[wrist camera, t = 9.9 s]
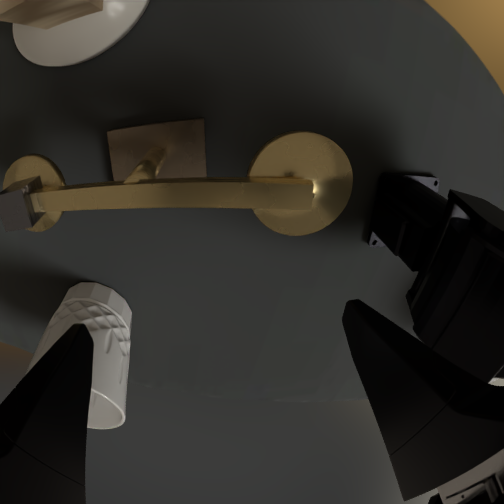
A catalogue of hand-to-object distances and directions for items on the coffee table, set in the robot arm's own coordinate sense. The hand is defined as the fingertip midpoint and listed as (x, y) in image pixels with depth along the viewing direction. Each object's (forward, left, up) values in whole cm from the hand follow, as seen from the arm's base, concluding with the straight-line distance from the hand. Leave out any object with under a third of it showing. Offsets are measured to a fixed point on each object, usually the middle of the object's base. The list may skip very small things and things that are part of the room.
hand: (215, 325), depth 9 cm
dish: (+8, -15, -12) cm, 21 cm away
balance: (+3, -3, -12) cm, 13 cm away
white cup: (+11, +10, -12) cm, 19 cm away
